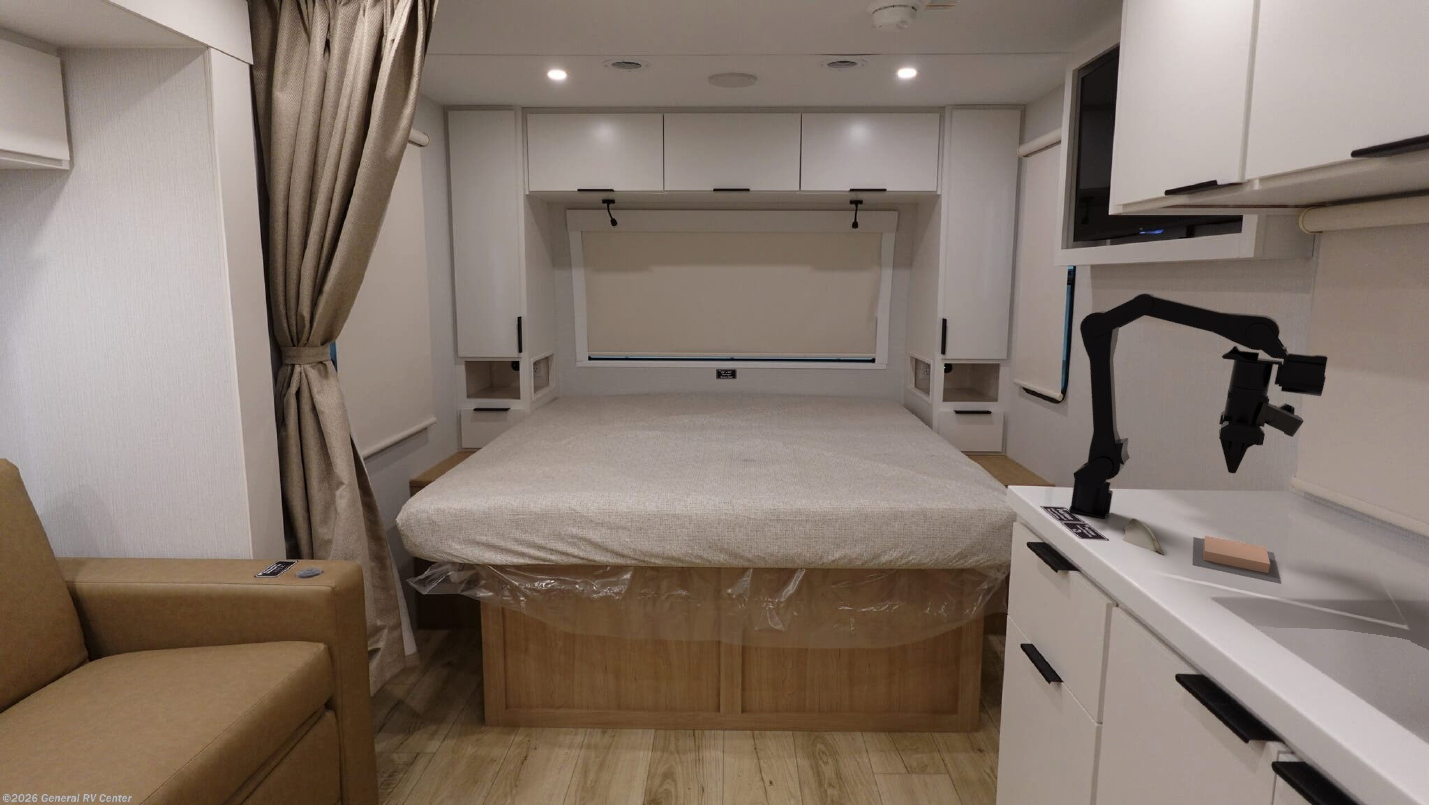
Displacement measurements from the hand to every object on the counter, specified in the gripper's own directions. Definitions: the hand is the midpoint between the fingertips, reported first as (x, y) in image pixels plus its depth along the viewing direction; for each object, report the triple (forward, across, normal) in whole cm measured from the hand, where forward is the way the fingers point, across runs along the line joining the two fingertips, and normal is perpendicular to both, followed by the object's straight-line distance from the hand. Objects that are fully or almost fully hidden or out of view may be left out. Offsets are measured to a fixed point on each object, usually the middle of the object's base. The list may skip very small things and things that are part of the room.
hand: (1231, 472), depth 141 cm
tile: (+11, -7, -2) cm, 13 cm away
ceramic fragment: (+14, -11, +12) cm, 21 cm away
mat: (+13, -11, -2) cm, 17 cm away
